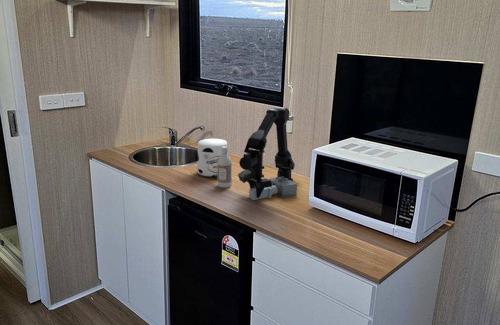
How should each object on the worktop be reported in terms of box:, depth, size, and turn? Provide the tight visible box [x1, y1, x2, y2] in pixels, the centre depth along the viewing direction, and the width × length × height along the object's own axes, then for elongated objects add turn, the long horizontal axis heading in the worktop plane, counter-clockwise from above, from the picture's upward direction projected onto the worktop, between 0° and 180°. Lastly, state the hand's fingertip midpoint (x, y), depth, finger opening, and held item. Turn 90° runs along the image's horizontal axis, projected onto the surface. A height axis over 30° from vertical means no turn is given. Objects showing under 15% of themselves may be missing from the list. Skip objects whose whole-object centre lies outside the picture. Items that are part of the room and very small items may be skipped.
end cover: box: [248, 185, 279, 201], centre depth 204 cm, size 16×6×5 cm, turn 120°
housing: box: [268, 176, 298, 199], centre depth 209 cm, size 8×12×6 cm, turn 30°
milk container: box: [196, 138, 228, 178], centre depth 231 cm, size 17×17×18 cm
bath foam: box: [217, 146, 233, 189], centre depth 215 cm, size 7×7×20 cm
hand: (255, 196), depth 202 cm, fingers closed on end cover, 4 cm apart
